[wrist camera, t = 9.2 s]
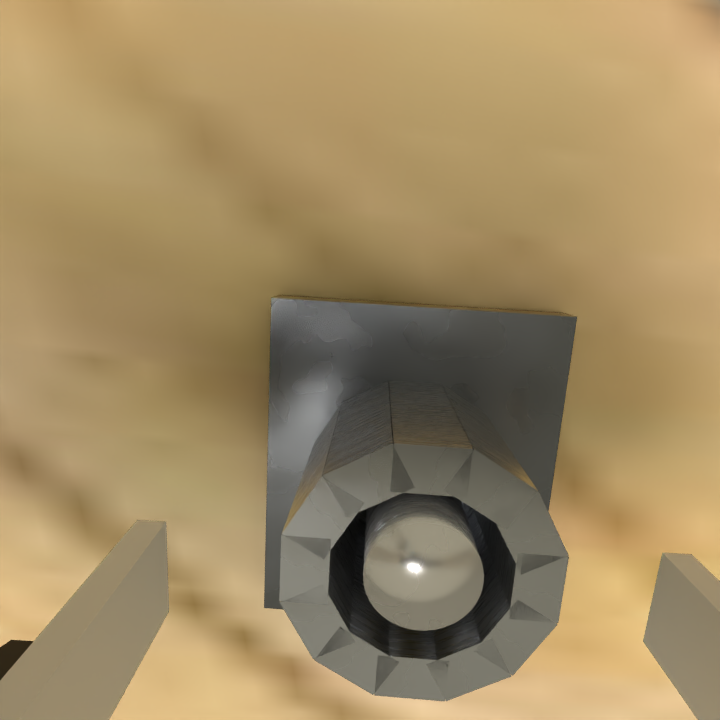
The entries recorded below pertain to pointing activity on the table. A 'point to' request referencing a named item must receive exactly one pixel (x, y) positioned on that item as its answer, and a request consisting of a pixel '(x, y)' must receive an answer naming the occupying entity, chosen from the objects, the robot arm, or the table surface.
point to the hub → (432, 477)
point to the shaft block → (423, 365)
